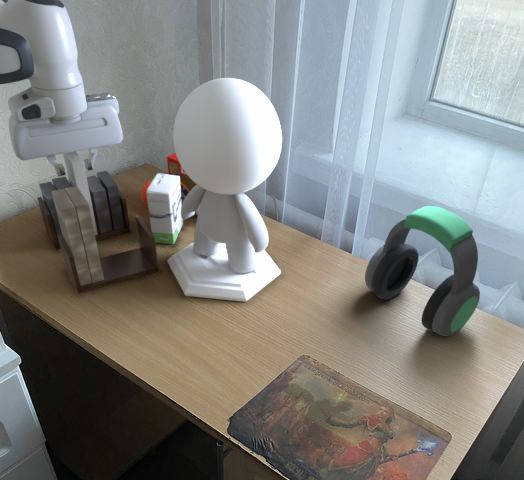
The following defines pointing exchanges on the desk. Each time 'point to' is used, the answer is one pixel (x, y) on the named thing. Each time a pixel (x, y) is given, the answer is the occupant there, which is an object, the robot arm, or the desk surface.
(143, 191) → the clementine
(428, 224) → the headphones
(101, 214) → the grey book rack
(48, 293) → the desk surface
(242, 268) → the big headed doll
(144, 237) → the brown book rack
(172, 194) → the ink box
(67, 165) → the white book
